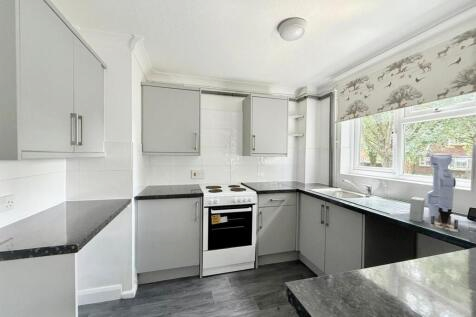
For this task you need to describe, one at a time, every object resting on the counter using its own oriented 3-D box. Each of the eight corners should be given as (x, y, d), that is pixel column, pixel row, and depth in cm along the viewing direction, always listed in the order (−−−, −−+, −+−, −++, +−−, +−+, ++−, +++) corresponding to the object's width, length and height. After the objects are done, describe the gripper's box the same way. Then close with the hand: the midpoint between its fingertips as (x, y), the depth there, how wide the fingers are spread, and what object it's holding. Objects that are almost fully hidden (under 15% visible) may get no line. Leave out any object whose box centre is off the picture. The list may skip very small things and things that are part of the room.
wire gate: (431, 222, 125) (431, 215, 125) (457, 228, 117) (458, 219, 117) (430, 224, 123) (431, 216, 123) (457, 229, 115) (458, 221, 115)
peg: (438, 226, 119) (439, 221, 119) (449, 228, 116) (449, 223, 116) (438, 228, 116) (438, 223, 116) (449, 230, 113) (449, 225, 113)
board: (431, 221, 130) (431, 220, 130) (457, 226, 122) (457, 225, 122) (430, 227, 119) (430, 226, 119) (458, 233, 111) (458, 232, 111)
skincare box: (411, 218, 136) (413, 196, 135) (423, 220, 131) (425, 198, 131) (408, 220, 131) (410, 198, 130) (421, 223, 126) (422, 200, 125)
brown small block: (438, 221, 120) (438, 213, 120) (450, 223, 116) (450, 215, 116) (438, 222, 116) (438, 215, 116) (450, 225, 113) (451, 217, 113)
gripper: (436, 195, 124) (435, 217, 124) (435, 198, 114) (434, 222, 114) (453, 197, 119) (451, 220, 119) (453, 201, 109) (452, 226, 109)
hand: (444, 221), depth 116 cm, fingers closed on brown small block, 5 cm apart
